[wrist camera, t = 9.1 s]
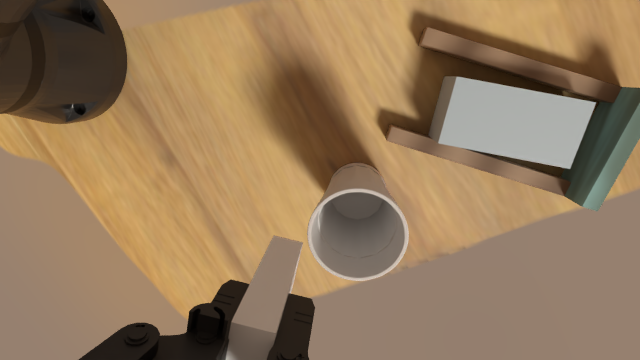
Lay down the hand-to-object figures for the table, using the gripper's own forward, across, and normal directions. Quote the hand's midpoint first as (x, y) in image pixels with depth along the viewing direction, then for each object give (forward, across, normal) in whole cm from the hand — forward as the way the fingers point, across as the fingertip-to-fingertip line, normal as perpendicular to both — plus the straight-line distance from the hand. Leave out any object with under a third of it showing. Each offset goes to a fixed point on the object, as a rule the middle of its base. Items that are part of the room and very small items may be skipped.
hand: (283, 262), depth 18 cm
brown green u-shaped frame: (+22, +16, +9) cm, 29 cm away
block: (+23, +16, +9) cm, 29 cm away
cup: (+23, +5, -2) cm, 23 cm away
